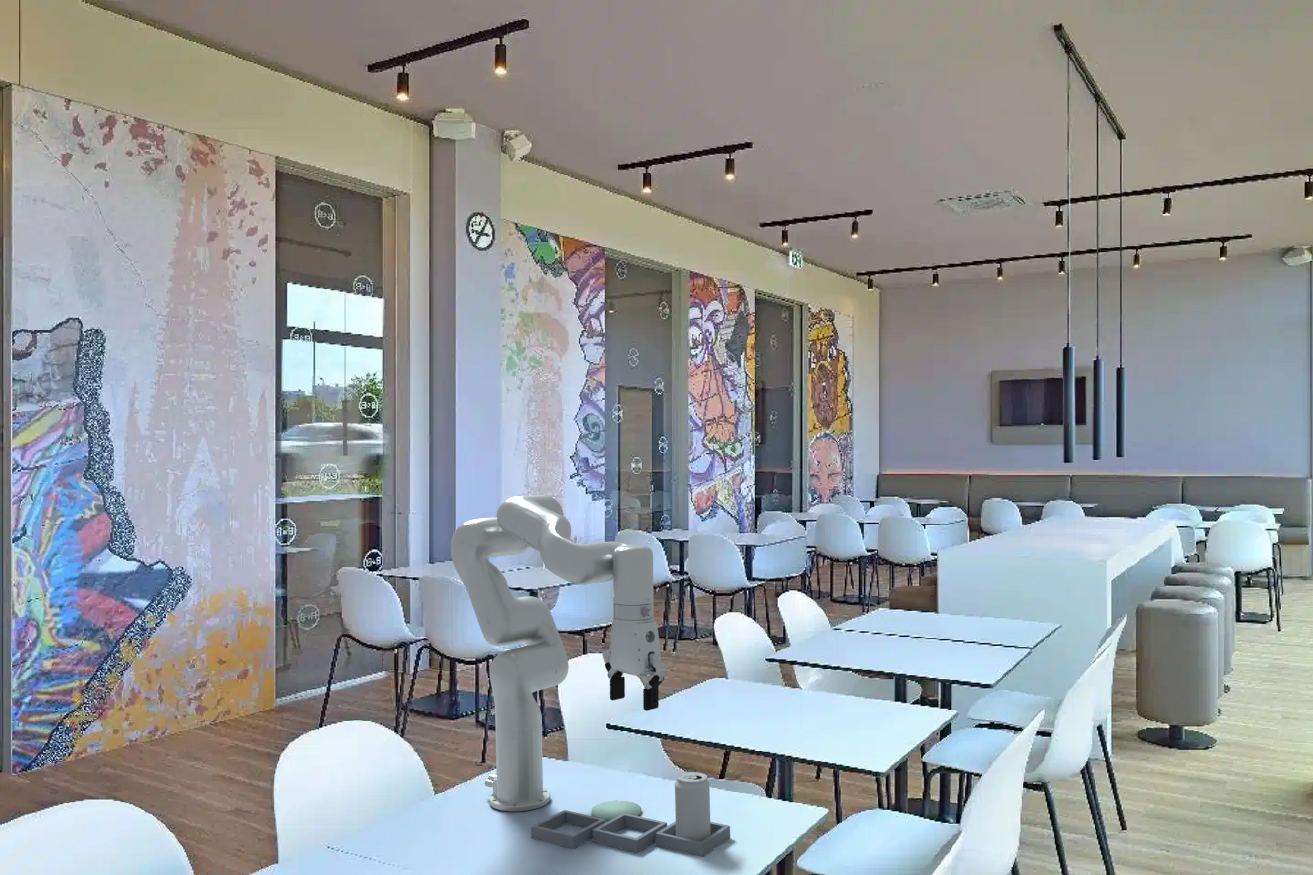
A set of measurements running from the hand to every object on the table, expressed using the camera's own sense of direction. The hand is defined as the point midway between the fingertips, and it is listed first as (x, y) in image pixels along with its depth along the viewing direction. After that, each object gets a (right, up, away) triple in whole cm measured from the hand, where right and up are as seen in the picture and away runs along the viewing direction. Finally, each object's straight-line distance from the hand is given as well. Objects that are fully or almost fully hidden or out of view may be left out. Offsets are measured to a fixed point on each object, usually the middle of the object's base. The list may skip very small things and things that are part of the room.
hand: (633, 703), depth 185 cm
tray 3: (+11, -25, -2) cm, 27 cm away
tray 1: (-12, -25, +3) cm, 28 cm away
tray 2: (-1, -25, 0) cm, 25 cm away
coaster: (-4, -25, +14) cm, 29 cm away
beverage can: (+11, -25, -2) cm, 27 cm away
